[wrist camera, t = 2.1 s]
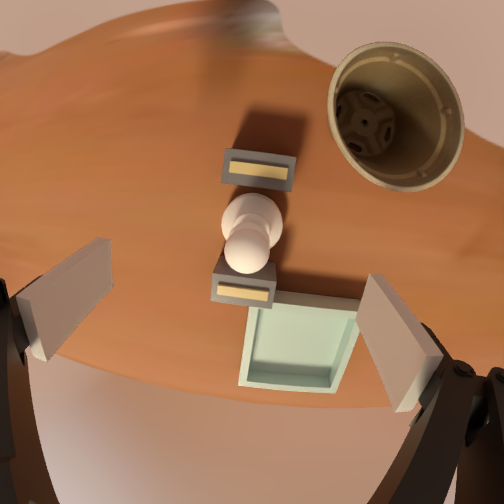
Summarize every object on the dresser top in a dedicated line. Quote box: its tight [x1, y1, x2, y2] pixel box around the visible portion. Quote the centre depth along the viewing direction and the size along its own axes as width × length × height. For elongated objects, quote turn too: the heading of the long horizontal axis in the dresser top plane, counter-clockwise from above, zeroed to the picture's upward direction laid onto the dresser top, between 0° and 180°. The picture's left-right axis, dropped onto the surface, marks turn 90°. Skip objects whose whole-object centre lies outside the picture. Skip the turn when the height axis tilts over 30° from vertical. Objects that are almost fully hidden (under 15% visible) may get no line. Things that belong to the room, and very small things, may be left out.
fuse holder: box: [211, 148, 296, 309], centre depth 24 cm, size 5×12×4 cm, turn 173°
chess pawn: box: [221, 193, 283, 274], centre depth 22 cm, size 5×5×9 cm
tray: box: [238, 290, 360, 393], centre depth 29 cm, size 11×11×2 cm
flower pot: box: [327, 42, 465, 192], centre depth 18 cm, size 9×9×9 cm
